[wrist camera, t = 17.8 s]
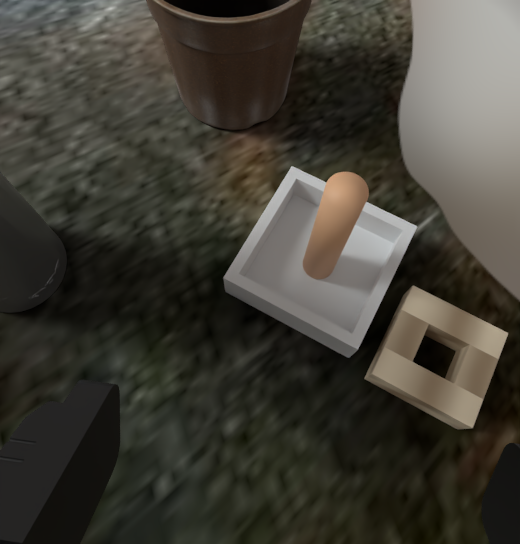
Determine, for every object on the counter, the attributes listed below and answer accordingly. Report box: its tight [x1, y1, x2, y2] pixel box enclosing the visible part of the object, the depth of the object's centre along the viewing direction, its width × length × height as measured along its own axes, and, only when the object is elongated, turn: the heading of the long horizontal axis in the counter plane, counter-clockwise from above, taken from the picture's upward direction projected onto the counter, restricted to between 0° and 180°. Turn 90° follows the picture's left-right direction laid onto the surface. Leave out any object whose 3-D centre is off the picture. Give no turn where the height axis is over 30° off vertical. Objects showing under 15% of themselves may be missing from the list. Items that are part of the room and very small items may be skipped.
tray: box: [223, 166, 417, 358], centre depth 45 cm, size 13×13×4 cm
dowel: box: [303, 172, 369, 279], centre depth 40 cm, size 3×3×14 cm
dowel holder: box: [364, 285, 508, 429], centre depth 43 cm, size 9×9×3 cm
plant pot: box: [146, 0, 311, 130], centre depth 47 cm, size 16×16×16 cm
